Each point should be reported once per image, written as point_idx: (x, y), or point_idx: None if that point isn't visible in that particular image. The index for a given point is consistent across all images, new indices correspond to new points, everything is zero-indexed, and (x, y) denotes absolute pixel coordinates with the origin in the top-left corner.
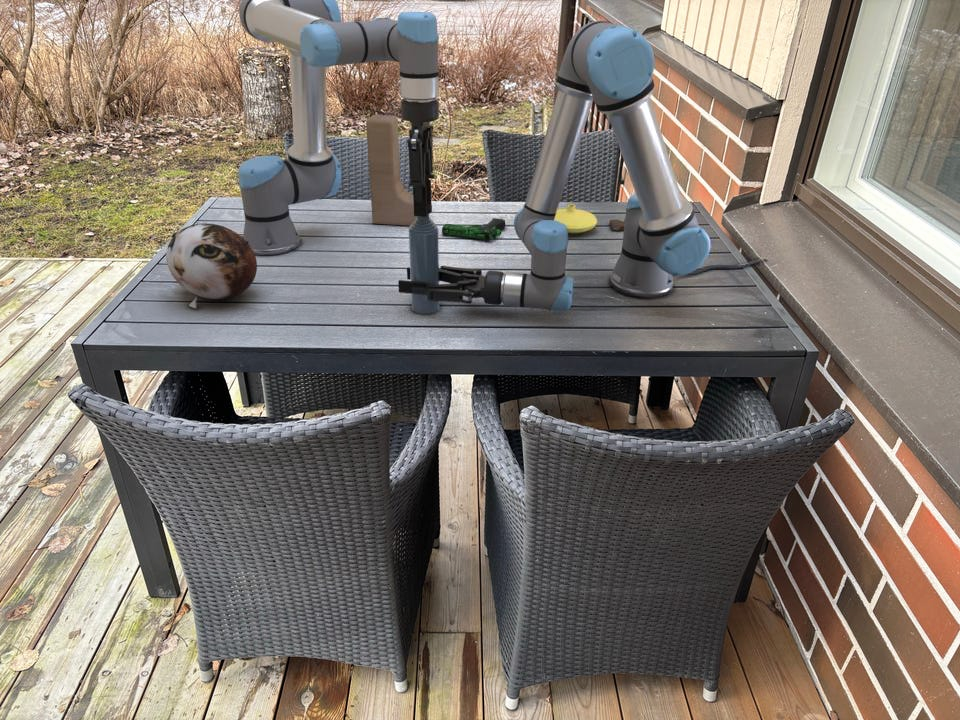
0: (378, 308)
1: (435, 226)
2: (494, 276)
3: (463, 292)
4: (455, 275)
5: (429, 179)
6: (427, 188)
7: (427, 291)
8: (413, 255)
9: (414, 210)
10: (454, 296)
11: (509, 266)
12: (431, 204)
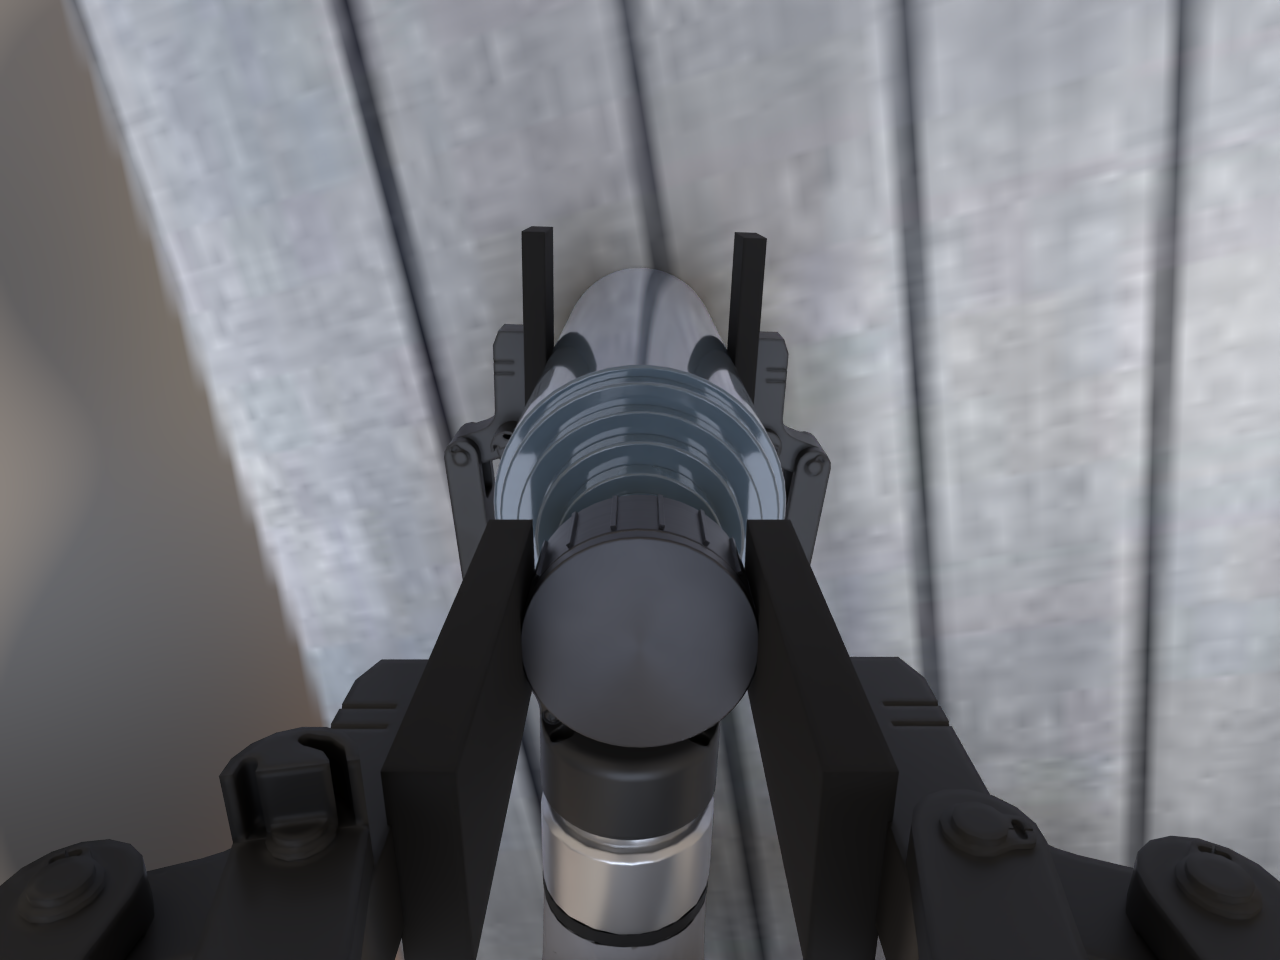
0: (582, 72)
1: None
2: (588, 807)
3: None
4: None
5: (870, 949)
6: (787, 809)
7: (452, 441)
8: (540, 377)
9: (476, 557)
10: None
11: (1188, 668)
12: (645, 744)
